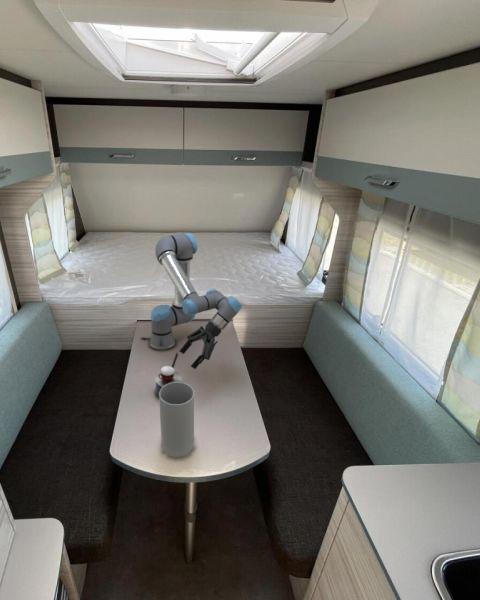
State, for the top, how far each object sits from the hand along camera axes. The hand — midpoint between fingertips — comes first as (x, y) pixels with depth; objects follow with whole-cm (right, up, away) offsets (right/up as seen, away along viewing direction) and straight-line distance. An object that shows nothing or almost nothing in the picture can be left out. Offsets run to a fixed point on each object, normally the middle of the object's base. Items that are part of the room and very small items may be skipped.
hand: (186, 359), depth 153 cm
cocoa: (-8, -9, -1) cm, 12 cm away
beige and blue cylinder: (-9, -16, +2) cm, 18 cm away
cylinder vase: (-3, -28, -26) cm, 39 cm away
